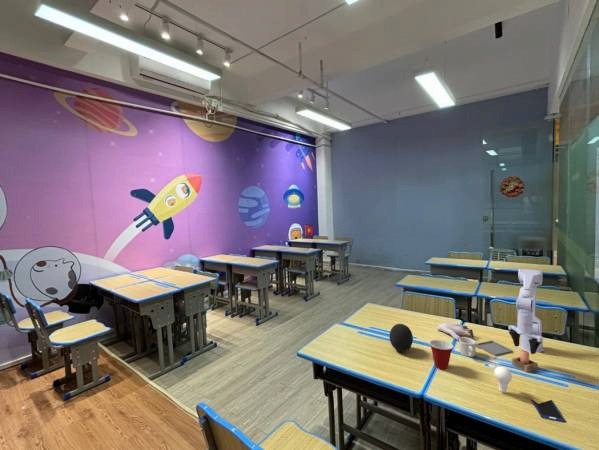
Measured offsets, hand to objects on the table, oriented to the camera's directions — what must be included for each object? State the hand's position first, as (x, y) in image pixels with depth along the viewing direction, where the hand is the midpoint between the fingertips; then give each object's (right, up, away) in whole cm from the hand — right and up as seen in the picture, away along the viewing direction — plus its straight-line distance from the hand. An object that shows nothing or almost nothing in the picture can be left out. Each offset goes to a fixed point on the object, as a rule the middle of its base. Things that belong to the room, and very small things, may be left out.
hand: (524, 349), depth 135 cm
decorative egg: (-52, -10, +22) cm, 57 cm away
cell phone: (-12, -12, -25) cm, 31 cm away
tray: (-2, -8, +19) cm, 20 cm away
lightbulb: (-22, -12, -16) cm, 29 cm away
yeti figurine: (-12, -8, +39) cm, 41 cm away
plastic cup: (-38, -11, +5) cm, 40 cm away
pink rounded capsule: (0, -9, +1) cm, 9 cm away
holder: (0, -9, +1) cm, 9 cm away
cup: (-19, -10, +13) cm, 25 cm away
